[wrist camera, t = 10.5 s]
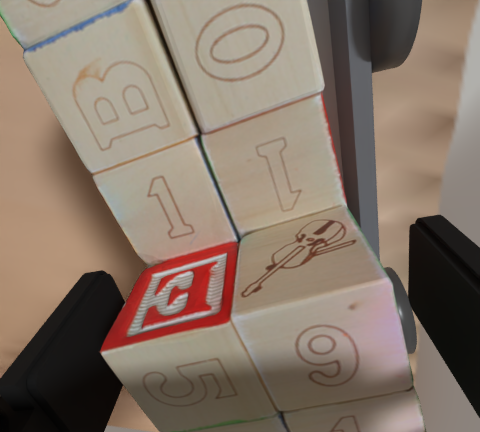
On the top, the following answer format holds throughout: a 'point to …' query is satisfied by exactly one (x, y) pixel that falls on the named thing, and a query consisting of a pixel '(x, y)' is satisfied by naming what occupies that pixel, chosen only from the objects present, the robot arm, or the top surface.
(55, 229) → the top surface
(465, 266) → the robot arm
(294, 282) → the stack of blocks
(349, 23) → the chassis
